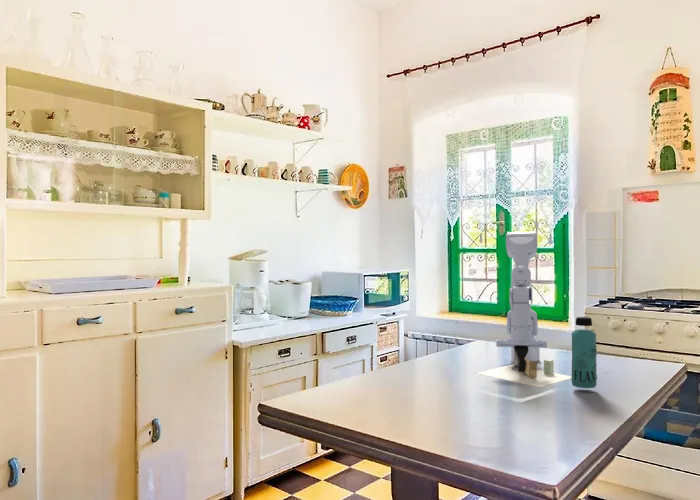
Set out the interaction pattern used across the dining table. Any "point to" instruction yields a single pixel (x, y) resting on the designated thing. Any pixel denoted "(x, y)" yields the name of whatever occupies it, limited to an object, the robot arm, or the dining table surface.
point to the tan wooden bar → (530, 368)
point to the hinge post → (515, 362)
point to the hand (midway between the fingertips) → (521, 371)
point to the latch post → (549, 366)
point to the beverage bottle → (584, 355)
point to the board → (525, 376)
